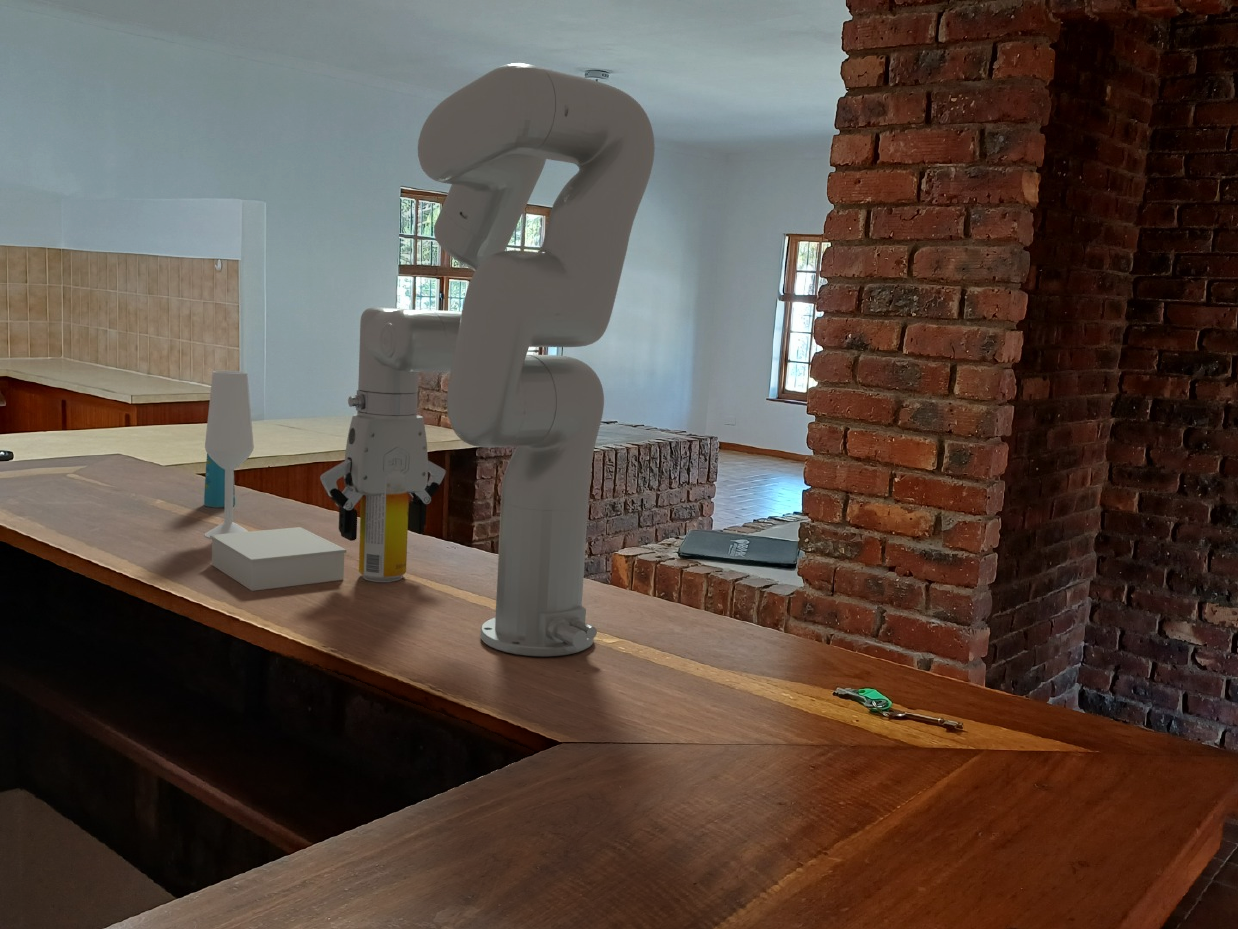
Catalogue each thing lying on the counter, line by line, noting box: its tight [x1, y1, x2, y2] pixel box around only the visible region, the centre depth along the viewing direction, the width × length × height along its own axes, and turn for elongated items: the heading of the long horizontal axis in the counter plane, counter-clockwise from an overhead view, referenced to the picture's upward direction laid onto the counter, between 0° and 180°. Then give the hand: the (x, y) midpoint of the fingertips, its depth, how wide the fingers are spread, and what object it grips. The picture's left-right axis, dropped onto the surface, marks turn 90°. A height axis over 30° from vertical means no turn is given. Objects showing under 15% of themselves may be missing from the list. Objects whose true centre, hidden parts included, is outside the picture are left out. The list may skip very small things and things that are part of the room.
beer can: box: [358, 468, 410, 583], centre depth 142 cm, size 6×6×15 cm
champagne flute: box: [204, 370, 255, 539], centre depth 159 cm, size 7×7×24 cm
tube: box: [203, 452, 236, 509], centre depth 179 cm, size 7×5×19 cm, turn 28°
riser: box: [209, 526, 347, 592], centre depth 142 cm, size 14×12×4 cm
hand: (382, 535), depth 142 cm, fingers open, 9 cm apart
